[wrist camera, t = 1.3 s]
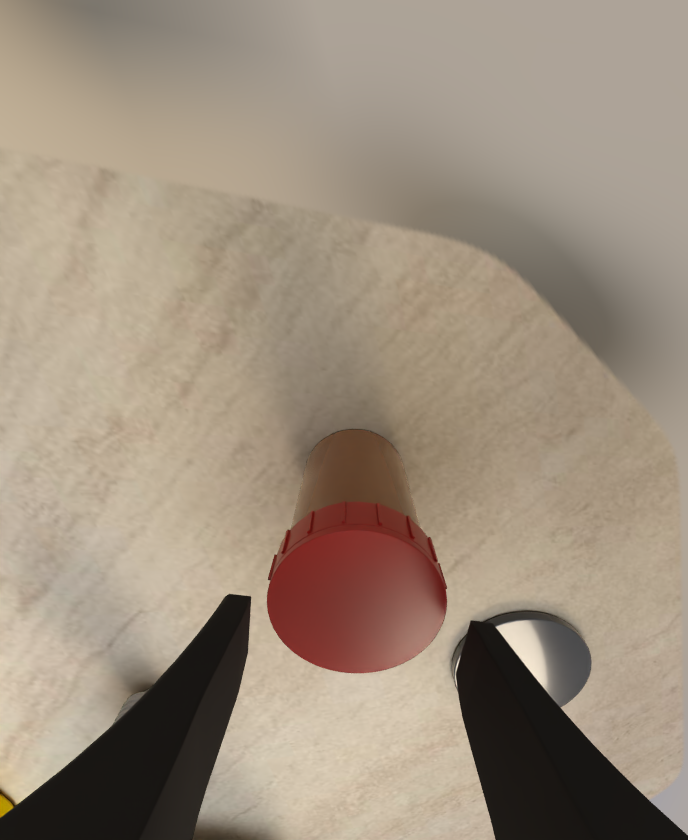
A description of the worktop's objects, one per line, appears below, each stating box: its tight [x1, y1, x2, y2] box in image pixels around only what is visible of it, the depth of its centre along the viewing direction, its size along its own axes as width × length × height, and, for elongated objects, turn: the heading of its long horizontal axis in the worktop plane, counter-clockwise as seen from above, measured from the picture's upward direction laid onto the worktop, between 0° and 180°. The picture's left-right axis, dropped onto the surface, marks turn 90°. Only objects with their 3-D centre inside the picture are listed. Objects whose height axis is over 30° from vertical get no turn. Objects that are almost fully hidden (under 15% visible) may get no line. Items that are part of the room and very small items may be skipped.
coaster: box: [452, 612, 591, 707], centre depth 24 cm, size 8×8×1 cm
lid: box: [267, 501, 447, 673], centre depth 13 cm, size 6×6×2 cm
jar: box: [291, 429, 420, 528], centre depth 17 cm, size 5×5×8 cm
